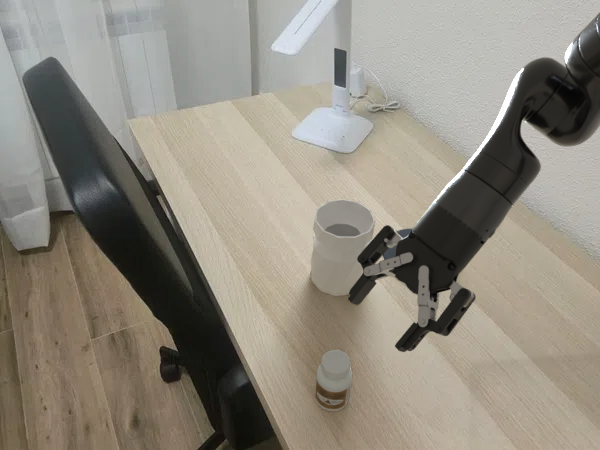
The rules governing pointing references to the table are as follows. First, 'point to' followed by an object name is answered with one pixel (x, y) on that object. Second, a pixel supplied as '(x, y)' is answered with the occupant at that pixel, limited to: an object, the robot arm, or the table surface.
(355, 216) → the vase
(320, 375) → the pill bottle
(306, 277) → the table surface
